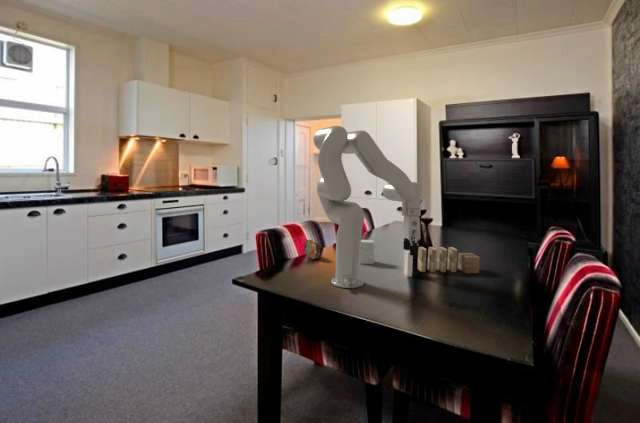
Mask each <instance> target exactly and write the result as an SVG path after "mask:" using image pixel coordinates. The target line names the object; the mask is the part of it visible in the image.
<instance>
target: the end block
mask: <svg viewBox="0 0 640 423" xmlns="http://www.w3.org/2000/svg"><path fill="white" fill-rule="evenodd" d="M480 260H481V258H480V256H478V255H476V254H475V253H472V252H458V253H457V269H458V268H459V270H460V271H462V272H463V273H465V274H479V273H480Z"/></svg>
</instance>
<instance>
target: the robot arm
mask: <svg viewBox="0 0 640 423" xmlns="http://www.w3.org/2000/svg"><path fill="white" fill-rule="evenodd" d="M313 144H314V146H315V148H317V149H318V150H319V151H318V158H317V164H318V169H319V172H320V175H321V178H320V179H319V180H318V181H317V184H316V192H317V196H318V198H319V200H320V203H321V206H322V208H323V210H324V213H325V215H326V217H327V219H328V220H329V221H331V223H333V224H336V225H338V229H337V232H336V237H335V274H334V275H335V276H334V277H332V278H331V281H330V282H331V284H332V286H335V287H338V288H344V289H355V288H359V287H362V286H364V283H365V281H364V279H362V278H361V264H360V259H361V240H362V230H363V226H364V225H363V224H364V220H365V213H364V212H365V211H364V209H363V208H362V207H361V205H360V204H358V203H356V202H353V201H348V199H349V198H350V197H351V195H352V186H351V183H350V181H349V178H348V176H347V174H346V173H347V172H346V171H345V168H344V164H343V162H342V156H343V155H342V154H345V155H346V154H348V155H352V154H354V155H356V157H357V158H358V160H359V161H360V163H362V165H363V166H364V168H365V169H366V171H367V172H368V173H369V174H371V175H373V176H374V177H377V178H379V179H382V180H383V181H385V182H386V184H385V185H384V186H383V188H382V194H383V197H384V198H385V199H387V200H389V201H394V202H401V216H402V217H403V219H402V220H403V222H402V223H403V224H402V235H403V243H402V244H403V245H402V246H403V247H402V248H403V250H404V251H405V250H410V255H413V256H418V247H419V241H420V240H421V219H420V216H421V209H422V208H421V207H422V206H421V204H422V203H421V202H422V201H421V200H422V185H421V183H420V182H417V181H411V179H410V177H409V176H408V175H407V174H406V173H405V172H404V171H403V170H402V169H401V168H400V167H399V166H397V165H396V164H394V163H393V162H392V161H390V160H389V159H388V158H387V156H385V154H384V153H383V152H382V150H381V149H380V147H379V146H378V144H377V143H376V141H375V140H374V139H373V137H372V136H371V135H370V134H369V133H368V132H367V131H365V130H354V131H347V130H346V128H344V127H343V126H341V125H333V126H332V125H331V126H327V127H323V128H320V129H319V130H317V131H316V132H315V134H314V136H313Z"/></svg>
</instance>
